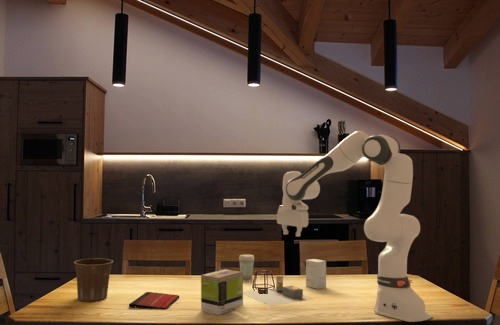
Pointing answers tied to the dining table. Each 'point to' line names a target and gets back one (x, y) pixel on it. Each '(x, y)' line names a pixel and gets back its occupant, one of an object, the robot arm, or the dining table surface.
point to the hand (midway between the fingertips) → (291, 235)
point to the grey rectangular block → (292, 292)
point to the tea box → (221, 291)
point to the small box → (316, 273)
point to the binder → (154, 301)
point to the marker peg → (279, 283)
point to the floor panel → (273, 297)
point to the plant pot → (92, 278)
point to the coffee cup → (246, 265)
